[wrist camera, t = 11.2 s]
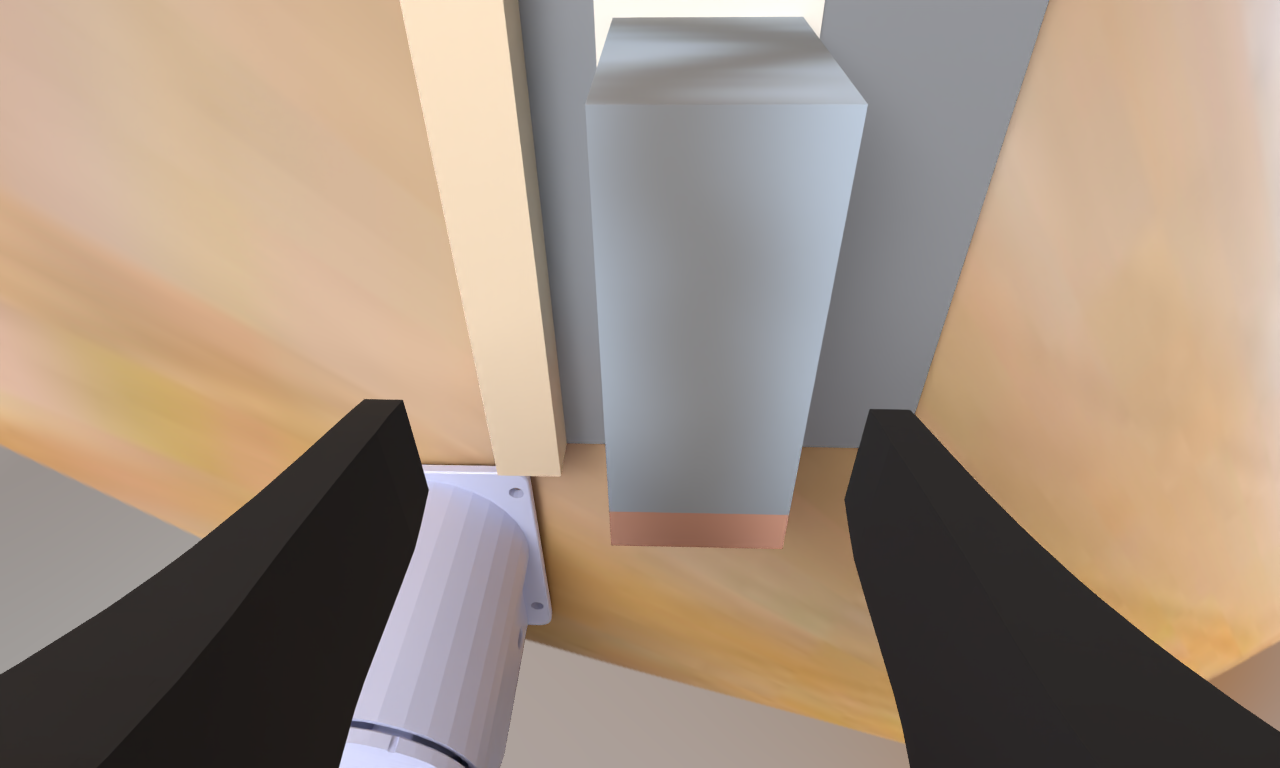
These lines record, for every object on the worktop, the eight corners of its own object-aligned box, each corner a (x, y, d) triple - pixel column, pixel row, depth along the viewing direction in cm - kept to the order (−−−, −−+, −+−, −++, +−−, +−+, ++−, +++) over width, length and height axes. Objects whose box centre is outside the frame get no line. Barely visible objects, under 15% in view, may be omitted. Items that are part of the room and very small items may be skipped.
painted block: (803, 16, 14) (867, 104, 10) (756, 386, 20) (782, 549, 16) (613, 17, 14) (585, 104, 10) (624, 384, 21) (611, 545, 16)
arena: (898, 435, 23) (916, 482, 21) (509, 430, 23) (497, 475, 21) (1121, -275, 12) (1193, -292, 10) (386, -261, 12) (343, -275, 11)
